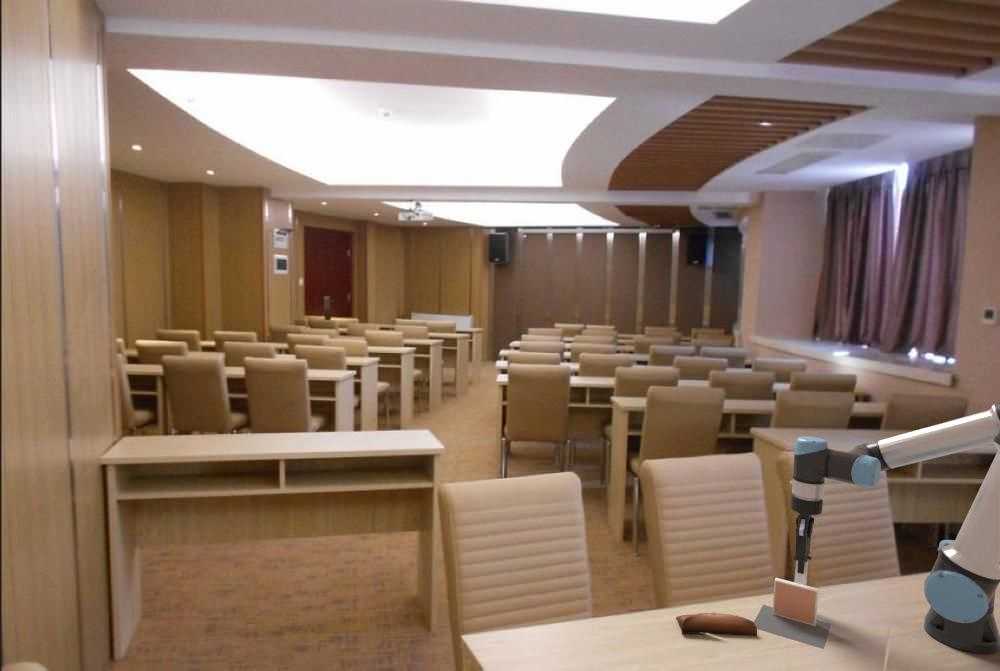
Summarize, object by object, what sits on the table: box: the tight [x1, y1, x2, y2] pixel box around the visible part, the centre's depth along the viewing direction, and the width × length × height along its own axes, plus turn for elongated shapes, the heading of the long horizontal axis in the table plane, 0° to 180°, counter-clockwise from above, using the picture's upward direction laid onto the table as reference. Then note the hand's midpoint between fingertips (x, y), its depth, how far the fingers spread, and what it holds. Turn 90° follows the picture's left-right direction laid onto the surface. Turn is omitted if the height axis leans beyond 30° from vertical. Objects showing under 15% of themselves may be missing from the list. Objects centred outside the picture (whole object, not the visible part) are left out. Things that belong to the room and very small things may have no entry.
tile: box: [772, 577, 820, 626], centre depth 161 cm, size 10×2×9 cm, turn 56°
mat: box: [753, 604, 832, 650], centre depth 158 cm, size 16×14×1 cm
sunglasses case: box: [675, 612, 758, 637], centre depth 157 cm, size 18×7×7 cm, turn 89°
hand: (800, 583), depth 169 cm, fingers closed
